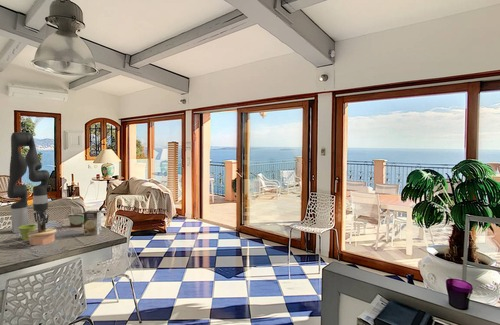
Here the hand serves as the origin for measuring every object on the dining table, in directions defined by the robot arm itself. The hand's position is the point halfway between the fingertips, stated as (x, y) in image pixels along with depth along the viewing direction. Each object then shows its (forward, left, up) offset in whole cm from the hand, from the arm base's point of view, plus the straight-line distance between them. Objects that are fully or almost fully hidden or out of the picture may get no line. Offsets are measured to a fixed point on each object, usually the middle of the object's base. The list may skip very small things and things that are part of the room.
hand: (41, 229), depth 184 cm
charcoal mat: (-4, +16, -8) cm, 19 cm away
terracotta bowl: (0, 0, -8) cm, 8 cm away
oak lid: (0, 0, -2) cm, 2 cm away
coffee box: (+11, +26, -9) cm, 30 cm away
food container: (-18, +33, -9) cm, 39 cm away
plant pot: (-16, -1, -9) cm, 18 cm away
